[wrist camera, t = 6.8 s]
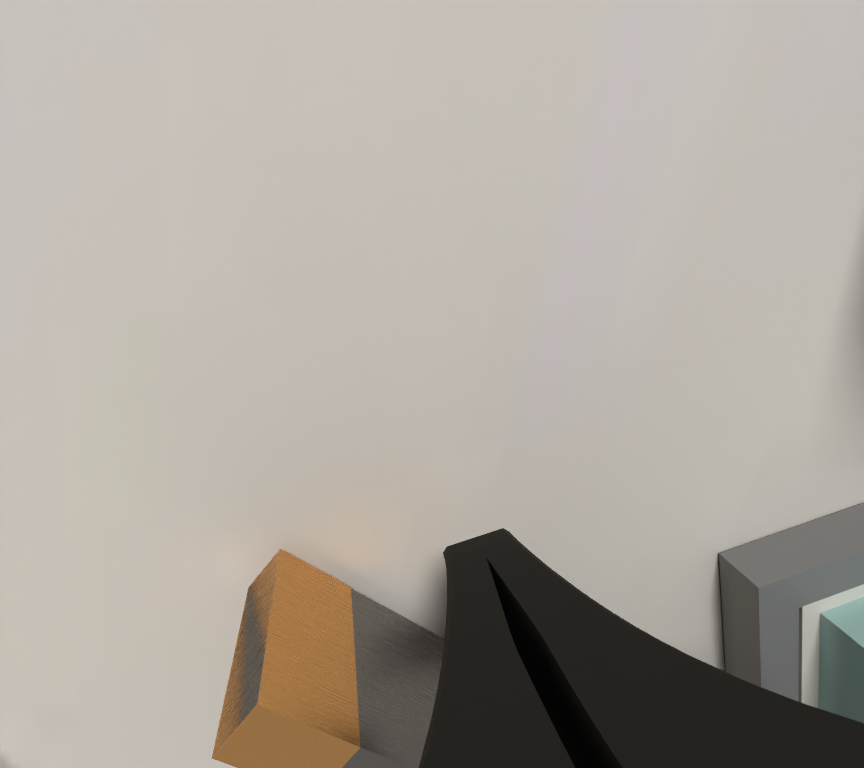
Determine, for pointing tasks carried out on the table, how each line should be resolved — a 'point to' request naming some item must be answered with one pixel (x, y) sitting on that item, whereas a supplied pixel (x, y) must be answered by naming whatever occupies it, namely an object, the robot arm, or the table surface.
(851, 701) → the plug
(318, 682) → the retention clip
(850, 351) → the table surface
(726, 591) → the dock
